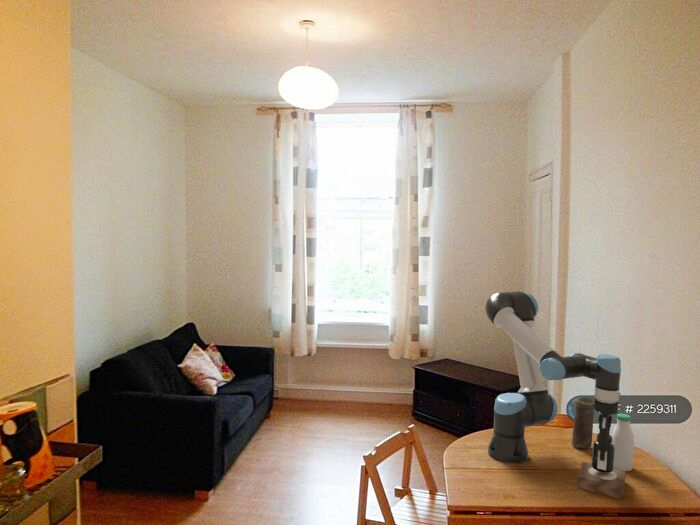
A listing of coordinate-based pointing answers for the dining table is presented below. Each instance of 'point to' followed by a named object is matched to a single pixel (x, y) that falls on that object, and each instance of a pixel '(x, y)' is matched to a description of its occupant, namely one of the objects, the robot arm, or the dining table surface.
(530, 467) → the dining table surface
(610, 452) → the supplement bottle
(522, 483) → the dining table surface
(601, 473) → the walnut plinth
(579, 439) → the brown cylinder
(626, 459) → the milk bottle
